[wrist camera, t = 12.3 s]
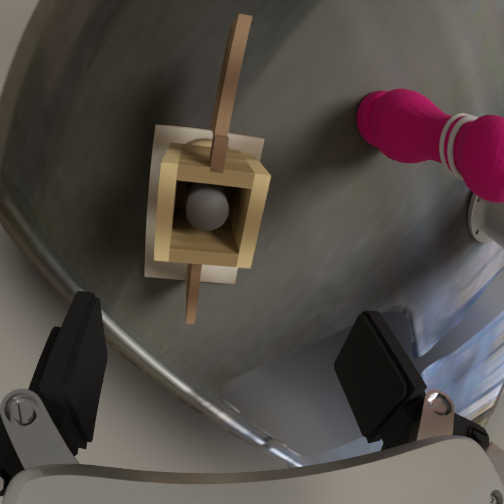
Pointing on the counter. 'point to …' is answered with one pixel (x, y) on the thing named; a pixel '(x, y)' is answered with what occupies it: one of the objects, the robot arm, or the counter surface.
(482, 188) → the pepper mill
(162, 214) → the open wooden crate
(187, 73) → the counter surface
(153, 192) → the hinge base
